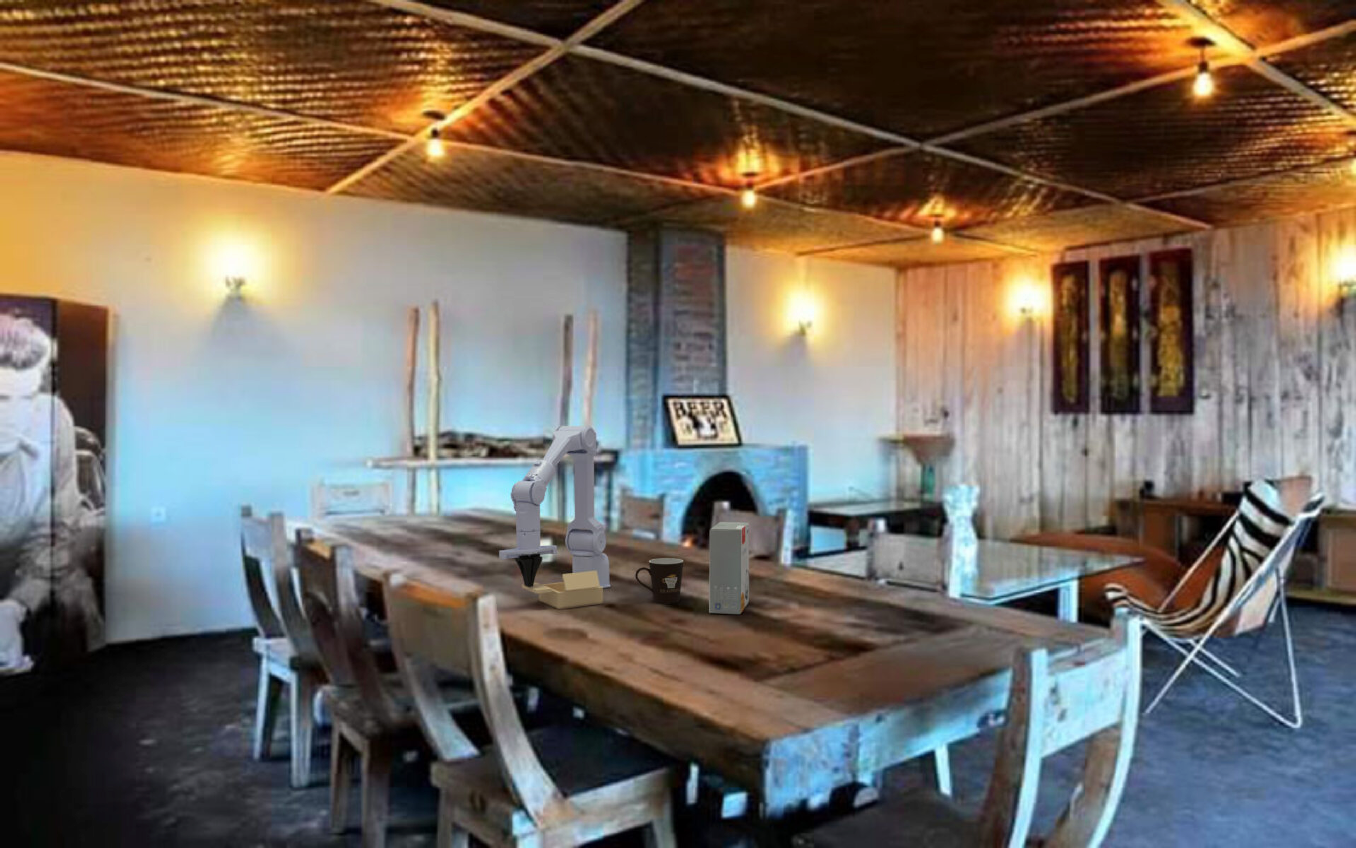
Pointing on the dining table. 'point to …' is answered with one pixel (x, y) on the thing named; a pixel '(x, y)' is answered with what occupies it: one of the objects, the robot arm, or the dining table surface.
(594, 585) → the flap left
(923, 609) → the dining table surface
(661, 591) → the coffee mug
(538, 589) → the flap far
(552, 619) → the dining table surface
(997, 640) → the dining table surface
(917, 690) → the dining table surface
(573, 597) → the carton
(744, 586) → the hard drive box
